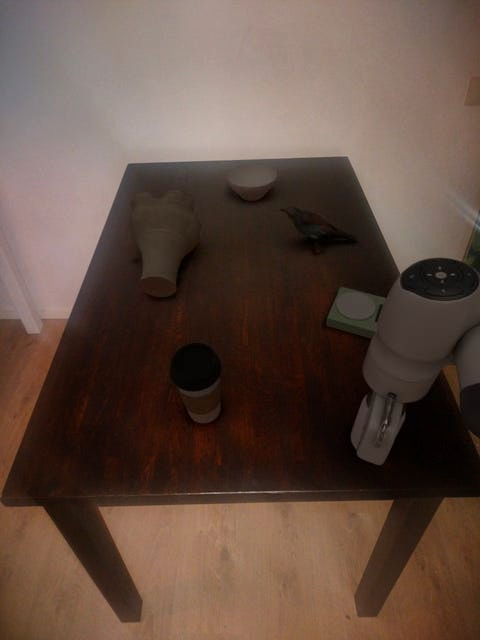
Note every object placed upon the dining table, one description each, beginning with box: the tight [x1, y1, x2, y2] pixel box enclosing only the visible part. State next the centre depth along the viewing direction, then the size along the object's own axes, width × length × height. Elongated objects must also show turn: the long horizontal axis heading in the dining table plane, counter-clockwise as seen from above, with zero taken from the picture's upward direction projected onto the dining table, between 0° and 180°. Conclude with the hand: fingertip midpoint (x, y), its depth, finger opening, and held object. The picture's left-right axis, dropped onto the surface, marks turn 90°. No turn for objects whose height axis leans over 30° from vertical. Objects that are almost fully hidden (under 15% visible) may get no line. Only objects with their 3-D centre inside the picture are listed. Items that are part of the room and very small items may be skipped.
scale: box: [325, 286, 387, 339], centre depth 84 cm, size 11×11×3 cm
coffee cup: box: [169, 342, 223, 424], centre depth 66 cm, size 8×8×15 cm
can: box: [350, 389, 407, 451], centre depth 61 cm, size 6×6×12 cm
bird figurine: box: [279, 205, 358, 254], centre depth 101 cm, size 13×10×20 cm
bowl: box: [226, 162, 278, 202], centre depth 123 cm, size 16×16×7 cm
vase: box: [129, 189, 203, 298], centre depth 93 cm, size 22×22×28 cm
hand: (375, 419), depth 60 cm, fingers open, 8 cm apart
